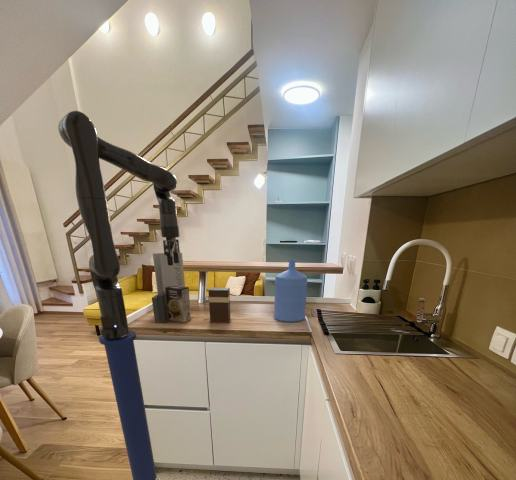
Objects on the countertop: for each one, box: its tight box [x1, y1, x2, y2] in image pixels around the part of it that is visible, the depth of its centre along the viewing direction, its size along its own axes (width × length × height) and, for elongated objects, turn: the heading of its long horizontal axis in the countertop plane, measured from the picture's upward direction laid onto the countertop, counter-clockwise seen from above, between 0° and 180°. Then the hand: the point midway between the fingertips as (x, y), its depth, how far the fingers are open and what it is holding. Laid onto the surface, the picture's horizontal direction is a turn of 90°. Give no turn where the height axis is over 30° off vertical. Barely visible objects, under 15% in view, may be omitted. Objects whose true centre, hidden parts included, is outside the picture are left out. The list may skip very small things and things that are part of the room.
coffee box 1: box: [165, 286, 192, 323], centre depth 134 cm, size 9×6×16 cm
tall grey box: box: [152, 252, 186, 295], centre depth 148 cm, size 14×6×30 cm, turn 147°
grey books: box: [151, 291, 170, 324], centre depth 135 cm, size 11×5×13 cm, turn 178°
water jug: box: [273, 260, 308, 323], centre depth 136 cm, size 16×16×28 cm
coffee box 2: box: [207, 287, 231, 324], centre depth 133 cm, size 6×9×16 cm
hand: (173, 264), depth 127 cm, fingers open, 8 cm apart
